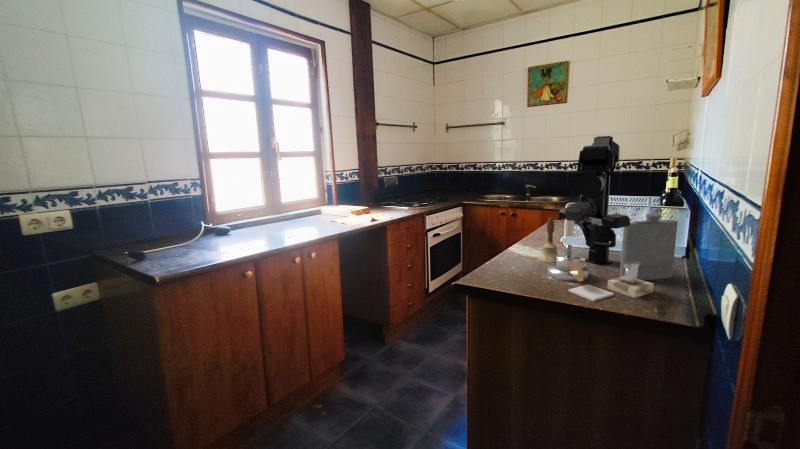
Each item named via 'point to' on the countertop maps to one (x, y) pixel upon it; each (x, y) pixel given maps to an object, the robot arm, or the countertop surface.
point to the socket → (630, 287)
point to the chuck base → (564, 273)
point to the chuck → (570, 263)
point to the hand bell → (549, 245)
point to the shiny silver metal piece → (631, 272)
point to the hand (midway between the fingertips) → (590, 246)
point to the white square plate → (590, 292)
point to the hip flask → (650, 247)
